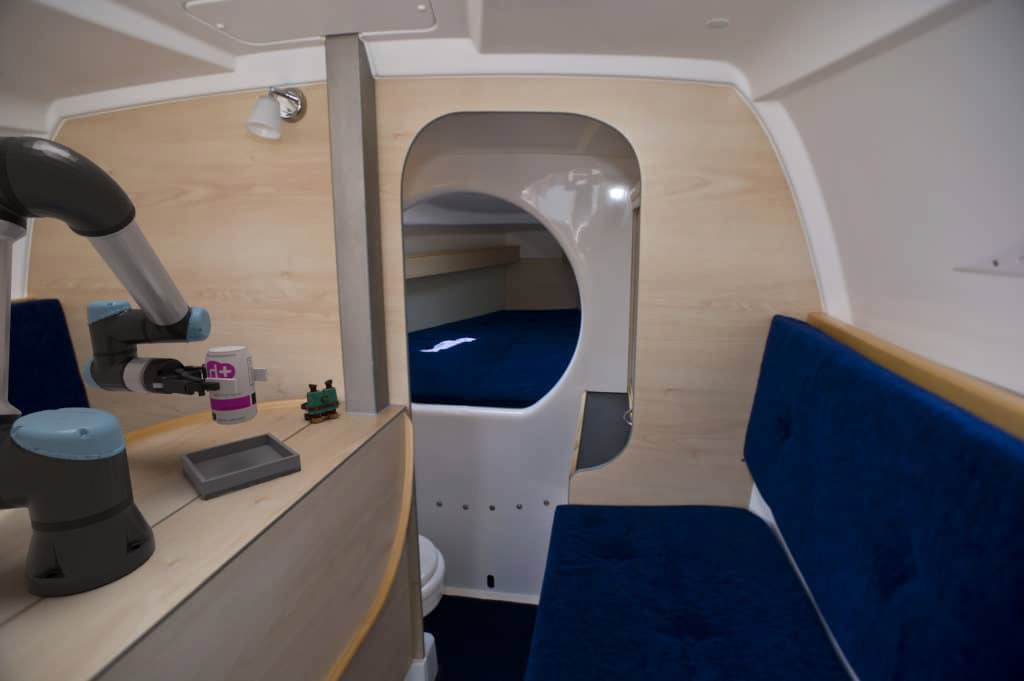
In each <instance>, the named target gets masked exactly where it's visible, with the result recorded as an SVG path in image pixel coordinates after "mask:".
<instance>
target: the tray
mask: <svg viewBox="0 0 1024 681" xmlns="http://www.w3.org/2000/svg"><path fill="white" fill-rule="evenodd" d="M179 457H180V464H181V470H182V472H183V473H184V475H185V476H186V477H187V479H188V480H189V482H190V483H191V484H192V485H193V486H194V488H195V489H196V490H197V492H198V493H199V495H200V496H201V497H202V499H203V498H204V499H203V500H204V501H206V500H210V499H213V498H212V497H214V498H216V496H217V497H220V496H223V495H225V493H227V494H229V493H228V492H230V493H232V492H231V491H233V492H236V491H239V490H242V489H241V488H243V489H246V488H249V487H252V486H255V484H256V485H258V484H262V483H265V482H269V481H272V480H275V479H278V478H281V477H283V476H284V475H285V476H288V475H291V474H294V473H297V471H298V472H300V471H299V470H301V471H302V465H301V455H300V454H299V453H298V452H297V451H295V450H294V449H293V448H291V447H290V446H289V445H287V444H286V443H285V442H283V441H281V439H279V438H277V437H276V436H275V435H273V434H272V433H271V432H266V433H262V434H257V435H253V436H250V437H245V438H242V439H237V440H233V441H229V442H225V443H222V444H221V443H220V444H218V445H214V446H211V447H206V448H201V449H199V450H198V449H197V450H194V451H190V452H186V453H182V454H179ZM293 472H294V473H293ZM287 474H288V475H287ZM251 485H252V486H251ZM248 486H249V487H248ZM245 487H246V488H245ZM238 489H239V490H238ZM235 490H236V491H235ZM222 494H223V495H222ZM219 495H220V496H219Z"/></svg>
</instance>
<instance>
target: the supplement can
mask: <svg viewBox="0 0 1024 681" xmlns="http://www.w3.org/2000/svg"><path fill="white" fill-rule="evenodd" d="M252 358H253V356H252V352H251V351H250V349H249V348H248V346H247V345H245V344H228V345H220V346H213V347H211V348H208V349H207V352H206V354H205V357H204V362H205V363H204V364H206V371H207V378H226V379H237V385H238V393H236V394H235V393H218V392H208V394H209V402H210V409H211V418H212V421H213V422H216V424H218V425H224V426H226V425H227V426H229V425H232V426H233V425H238V424H243V423H246V422H249V421H251V420H253V419H254V418H255V416H257V415H258V404H257V393H256V385H255V381H254V374H253V368H254V367H253V359H252Z"/></svg>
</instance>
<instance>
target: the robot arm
mask: <svg viewBox="0 0 1024 681" xmlns="http://www.w3.org/2000/svg"><path fill="white" fill-rule="evenodd" d="M136 217H137V209H136V207H135V205H134V204H133V201H132V200H131V199H130V197H129V195H128V194H127V193H126V192H125V190H124V189H123V188H122V187H121V186H120V184H119V183H118V182H117V181H116V180H115V179H114V178H113V177H112V176H111V175H110V174H109V173H107V171H105V170H104V169H103V168H102V167H100V166H99V165H98V164H97V163H95V162H94V161H92V160H91V159H89V158H88V157H87V156H85V155H83V154H82V153H80V152H77V151H76V150H75V149H72V148H71V147H68V146H67V145H64V144H62V143H60V142H57V141H54V140H52V139H48V138H43V137H39V136H32V135H31V136H27V135H26V136H25V135H24V136H21V135H20V136H8V135H7V136H5V135H4V136H3V135H1V136H0V511H5V510H11V509H22V508H25V509H27V511H28V516H29V518H30V523H31V530H32V533H31V536H30V537H31V538H30V542H29V545H28V550H27V554H26V559H25V563H24V566H23V577H24V584H25V586H26V587H25V588H26V590H28V592H30V593H31V594H33V595H36V596H43V597H60V596H67V595H73V594H77V593H81V592H86V591H88V590H92V589H96V588H98V587H100V586H103V585H106V584H109V583H111V582H113V581H115V580H117V579H120V578H122V577H124V576H125V575H127V574H129V573H131V572H132V571H134V570H136V569H137V568H138V567H140V566H141V565H143V564H144V563H145V562H146V561H147V560H148V559H149V558H150V557H151V556H152V554H153V553H154V551H155V549H156V542H155V541H156V540H155V534H154V530H153V529H152V527H151V526H150V524H149V522H148V521H147V520H146V518H145V517H144V515H143V513H142V512H141V510H140V509H139V507H138V505H136V503H135V498H134V494H133V493H134V492H133V486H132V478H131V473H130V466H129V460H128V454H127V453H128V452H127V447H126V446H127V440H126V437H125V435H124V432H123V428H122V424H121V422H120V419H119V418H118V417H116V416H115V414H113V413H111V412H110V411H107V410H104V409H99V408H92V407H91V408H90V407H64V408H63V407H62V408H58V409H46V410H41V411H40V410H39V411H36V412H32V413H28V414H26V415H23V416H22V411H21V410H19V409H18V408H16V407H15V406H14V405H12V404H11V403H10V402H9V400H8V398H9V397H8V396H9V395H8V394H9V373H10V372H9V371H10V369H9V368H10V367H9V366H10V338H11V336H10V335H11V334H10V332H11V305H12V303H11V302H12V281H13V280H12V278H13V277H12V276H13V275H12V274H13V271H12V270H13V246H14V244H15V243H16V242H18V241H20V240H21V239H23V238H25V237H26V236H27V232H28V230H27V229H28V219H34V218H35V219H39V218H40V219H43V218H50V219H56V220H59V221H62V222H64V223H65V224H66V225H67V226H68V227H69V229H70V230H71V231H72V233H74V234H75V235H77V236H78V237H82V238H86V239H87V241H88V243H90V244H91V246H92V247H93V249H94V250H95V251H96V252H97V253H98V255H99V256H100V257H101V259H102V261H104V263H105V264H106V266H107V267H108V268H109V270H111V272H112V273H113V274H114V275H115V277H116V278H117V279H118V281H119V282H120V283H121V285H122V286H123V287H124V289H125V290H126V291H127V293H128V294H129V295H130V297H131V298H132V299H133V300H134V302H135V303H136V304H137V306H138V307H139V308H133V307H132V305H131V302H130V301H129V300H127V299H111V300H110V299H109V300H97V301H93V302H92V301H91V302H89V304H87V306H86V318H87V320H86V321H87V323H86V326H88V332H89V337H90V338H89V339H90V343H91V348H92V357H91V358H89V359H88V360H87V361H86V362H85V364H84V368H83V370H82V378H83V381H84V382H85V383H86V385H88V387H90V388H92V389H95V390H98V391H99V390H100V391H105V392H112V393H115V392H123V393H125V392H126V393H127V392H128V393H129V392H130V393H145V395H146V396H150V395H151V394H161V395H172V394H180V395H185V396H192V395H195V393H198V394H197V395H198V397H204V396H206V392H207V393H209V392H218V393H235V394H236V393H238V385H237V379H226V378H207V371H206V363H202V364H201V366H200V365H199V366H194V365H184V364H183V363H182V362H181V361H180V360H178V359H176V358H173V357H172V358H171V357H151V356H150V357H149V356H148V357H147V356H139V355H138V346H137V345H155V344H181V343H183V344H184V343H186V344H189V343H194V342H196V343H197V342H203V341H206V340H207V339H209V336H210V334H211V329H212V323H211V322H212V321H211V316H210V313H209V312H208V310H207V309H205V308H204V307H196V306H192V307H190V305H189V304H188V302H187V301H186V300H185V298H184V297H183V295H182V293H181V292H180V290H179V289H178V286H177V285H176V284H175V282H174V281H173V279H172V277H171V275H170V274H169V272H168V271H167V269H166V267H165V266H164V264H163V263H162V261H161V260H160V258H159V256H158V255H157V253H156V251H155V250H154V248H153V247H152V245H151V243H150V242H149V241H148V239H147V237H146V236H145V234H144V232H143V231H142V229H141V228H140V226H139V224H138V223H137V221H136ZM253 374H254V382H269V378H268V368H267V367H253Z"/></svg>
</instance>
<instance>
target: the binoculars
mask: <svg viewBox="0 0 1024 681" xmlns="http://www.w3.org/2000/svg"><path fill="white" fill-rule="evenodd" d="M333 382H334V381H333V379H332V378H331V379H327V380H325V381H324V385H325V388H322V390H319V389H317V387H318V385H317V384H314V383H308V388H309V390H310V391H307V392H306V402H302V403H301V404H300V409H301V410H302V411H305V413H304V414H303V416H304V417H303V418H304V419H311V422H312V423H314V424H319V423H323V416H327V418H329V419H337V418H338V417H339V412H338V411H337V409H338V408H339V407H340V402H339V399H338V393H337V389H336V387H335V386H333V385H332V384H333Z"/></svg>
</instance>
